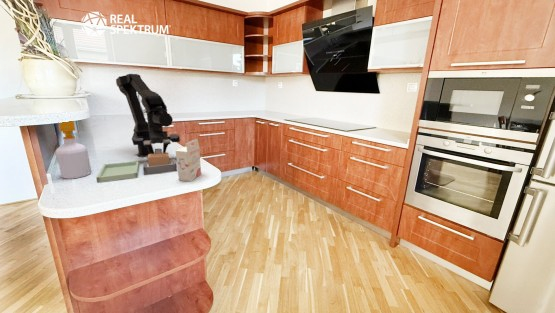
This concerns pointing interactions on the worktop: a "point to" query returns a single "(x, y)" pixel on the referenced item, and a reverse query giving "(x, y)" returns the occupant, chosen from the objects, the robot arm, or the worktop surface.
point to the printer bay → (159, 168)
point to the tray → (118, 171)
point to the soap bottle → (72, 154)
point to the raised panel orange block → (158, 158)
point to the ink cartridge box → (188, 161)
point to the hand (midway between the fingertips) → (159, 157)
